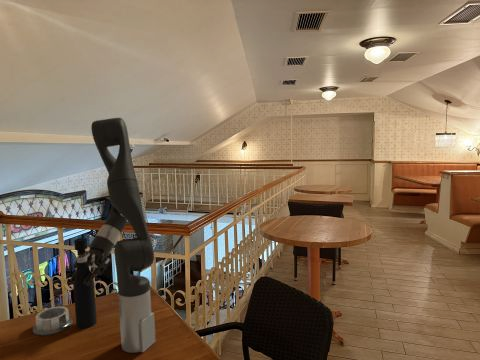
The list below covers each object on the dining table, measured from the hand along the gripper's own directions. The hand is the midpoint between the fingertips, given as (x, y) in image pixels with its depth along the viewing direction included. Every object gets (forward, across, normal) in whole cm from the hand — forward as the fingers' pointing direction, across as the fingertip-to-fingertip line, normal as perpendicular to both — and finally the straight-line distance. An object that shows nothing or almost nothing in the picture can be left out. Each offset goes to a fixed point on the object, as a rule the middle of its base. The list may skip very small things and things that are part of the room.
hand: (79, 283), depth 112 cm
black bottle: (+10, 0, +12) cm, 16 cm away
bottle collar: (+14, -10, +8) cm, 19 cm away
